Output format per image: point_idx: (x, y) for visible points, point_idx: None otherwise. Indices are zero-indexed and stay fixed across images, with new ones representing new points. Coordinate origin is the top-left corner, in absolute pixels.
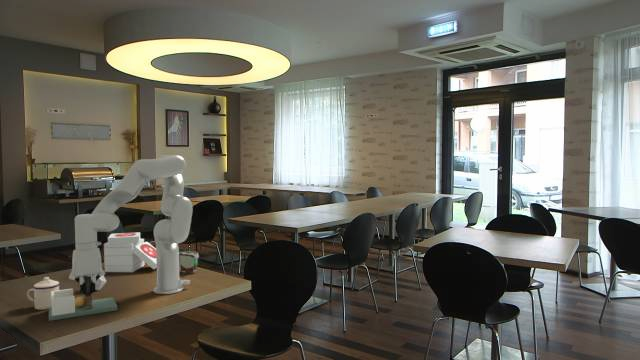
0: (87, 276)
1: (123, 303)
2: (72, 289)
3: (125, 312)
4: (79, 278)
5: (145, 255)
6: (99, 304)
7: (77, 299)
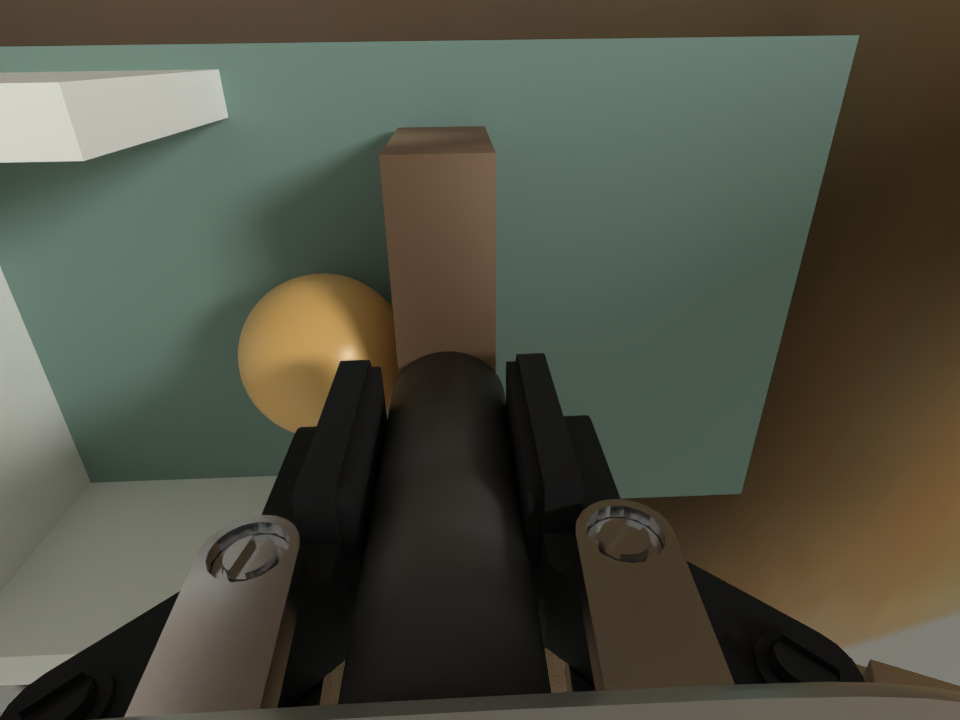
0: (443, 698)
1: (876, 251)
2: (71, 157)
3: (759, 552)
4: (172, 684)
5: None
6: (585, 334)
7: (289, 429)
